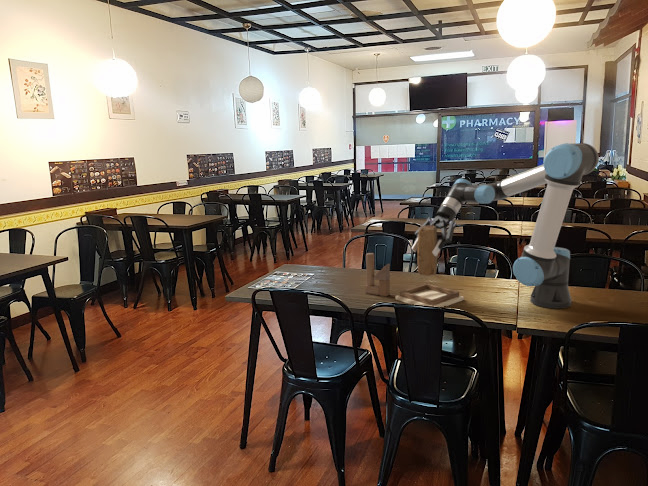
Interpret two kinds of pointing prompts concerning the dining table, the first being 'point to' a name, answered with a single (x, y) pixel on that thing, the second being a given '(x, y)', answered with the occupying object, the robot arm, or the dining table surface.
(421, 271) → the block
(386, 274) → the wooden block
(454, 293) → the pocket board
